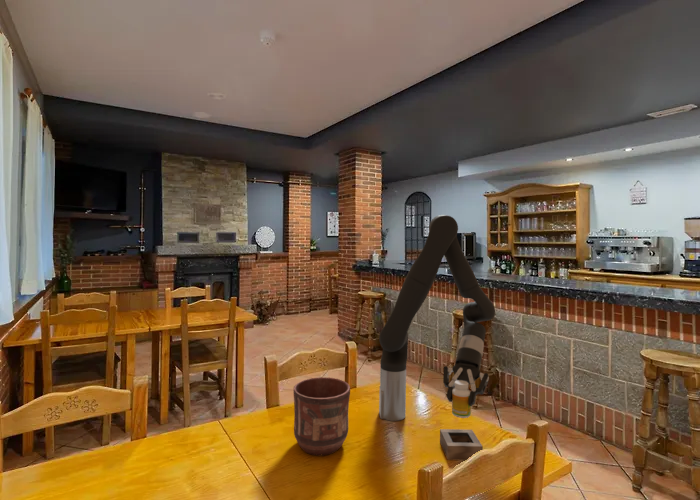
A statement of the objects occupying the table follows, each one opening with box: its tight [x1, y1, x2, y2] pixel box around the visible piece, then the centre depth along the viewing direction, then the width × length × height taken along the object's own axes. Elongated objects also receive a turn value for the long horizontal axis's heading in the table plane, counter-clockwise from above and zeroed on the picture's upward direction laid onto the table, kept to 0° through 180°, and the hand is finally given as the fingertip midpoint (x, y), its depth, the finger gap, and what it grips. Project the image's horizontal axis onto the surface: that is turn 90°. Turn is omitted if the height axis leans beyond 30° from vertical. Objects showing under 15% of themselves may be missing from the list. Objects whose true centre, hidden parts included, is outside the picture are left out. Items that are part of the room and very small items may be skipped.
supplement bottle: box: [451, 380, 472, 419], centre depth 117 cm, size 5×5×10 cm
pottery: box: [293, 376, 351, 456], centre depth 119 cm, size 18×18×18 cm
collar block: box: [439, 428, 484, 461], centre depth 117 cm, size 10×10×4 cm
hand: (459, 402), depth 116 cm, fingers closed on supplement bottle, 5 cm apart
